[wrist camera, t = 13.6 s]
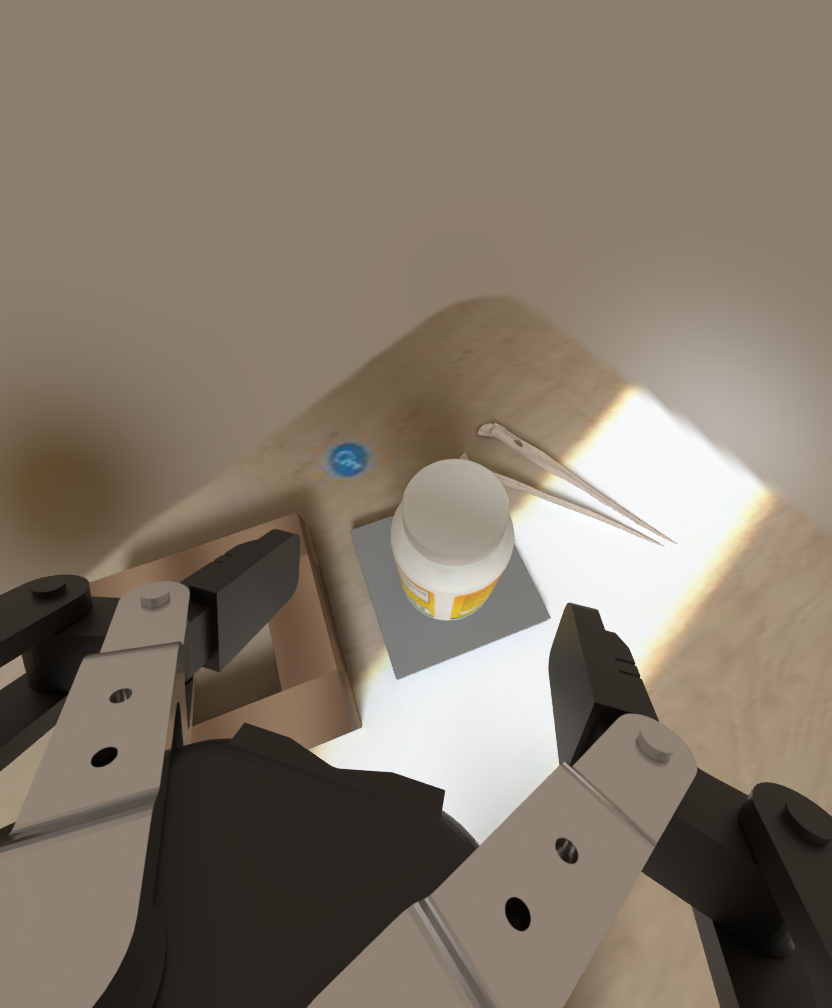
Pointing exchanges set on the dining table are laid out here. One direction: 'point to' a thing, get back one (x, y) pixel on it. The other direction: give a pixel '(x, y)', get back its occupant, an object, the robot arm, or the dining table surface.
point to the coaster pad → (433, 640)
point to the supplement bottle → (452, 538)
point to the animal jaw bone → (561, 472)
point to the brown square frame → (296, 641)
